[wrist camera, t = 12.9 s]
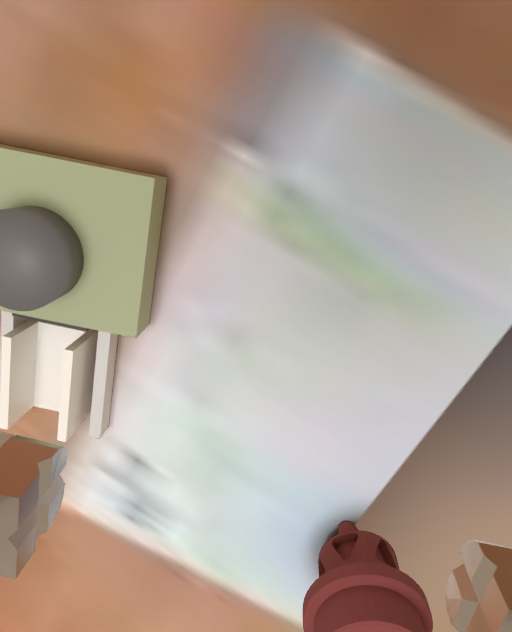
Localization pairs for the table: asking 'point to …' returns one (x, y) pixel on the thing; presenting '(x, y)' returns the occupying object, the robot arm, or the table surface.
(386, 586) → the mechanical component
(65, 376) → the chute
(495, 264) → the table surface
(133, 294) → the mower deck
